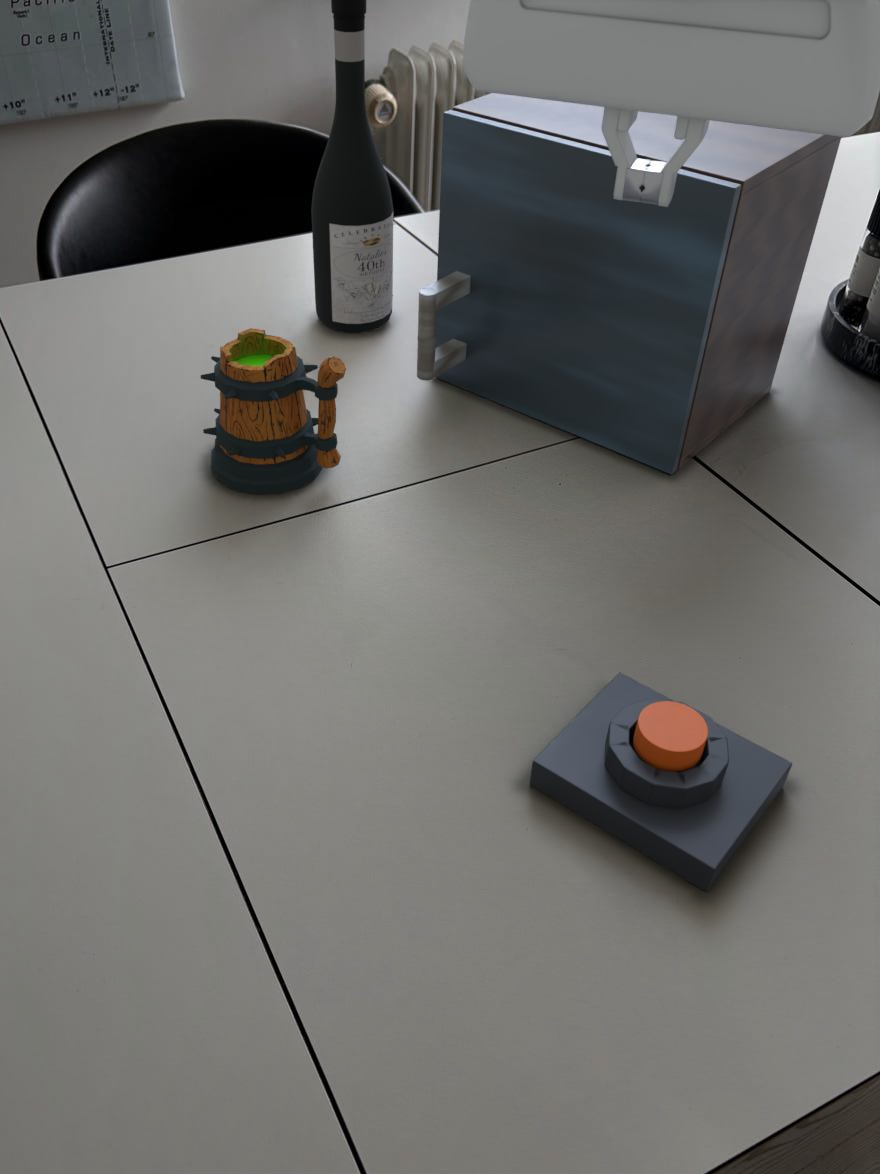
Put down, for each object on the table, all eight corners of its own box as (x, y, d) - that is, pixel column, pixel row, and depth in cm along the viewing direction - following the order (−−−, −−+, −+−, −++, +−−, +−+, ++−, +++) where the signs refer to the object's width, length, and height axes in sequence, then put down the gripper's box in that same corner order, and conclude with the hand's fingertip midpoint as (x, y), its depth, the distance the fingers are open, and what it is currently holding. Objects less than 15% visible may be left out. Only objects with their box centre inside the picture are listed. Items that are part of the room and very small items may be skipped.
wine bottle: (405, 327, 109) (412, -5, 88) (338, 344, 106) (328, 4, 85) (368, 297, 114) (366, -23, 93) (303, 313, 111) (286, -15, 90)
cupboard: (678, 470, 89) (744, 181, 73) (440, 373, 101) (452, 106, 85) (770, 391, 100) (845, 122, 83) (544, 311, 112) (572, 63, 95)
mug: (183, 475, 88) (164, 349, 80) (252, 420, 94) (240, 299, 87) (315, 520, 83) (308, 390, 75) (377, 459, 90) (376, 334, 82)
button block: (783, 786, 64) (801, 742, 61) (706, 892, 58) (722, 849, 55) (614, 695, 69) (623, 651, 67) (528, 784, 64) (535, 740, 61)
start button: (714, 743, 61) (720, 722, 60) (681, 783, 59) (687, 763, 58) (654, 711, 63) (659, 690, 62) (620, 748, 61) (624, 728, 60)
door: (636, 504, 85) (695, 211, 69) (394, 399, 97) (397, 128, 81) (677, 470, 89) (742, 184, 73) (439, 372, 101) (450, 109, 85)
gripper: (452, -127, 47) (439, 191, 56) (937, -93, 41) (834, 251, 51) (494, -141, 51) (475, 155, 60) (938, -112, 46) (842, 208, 55)
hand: (642, 200), depth 55 cm, fingers closed
